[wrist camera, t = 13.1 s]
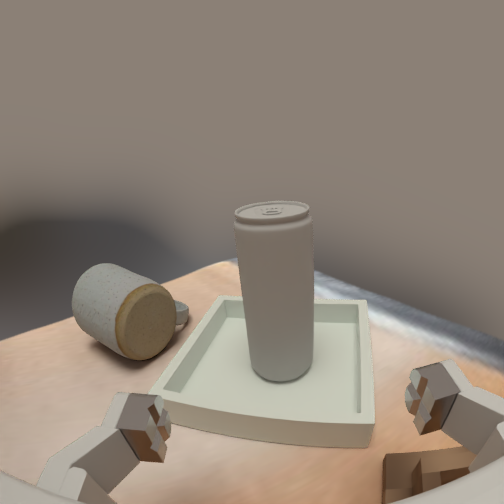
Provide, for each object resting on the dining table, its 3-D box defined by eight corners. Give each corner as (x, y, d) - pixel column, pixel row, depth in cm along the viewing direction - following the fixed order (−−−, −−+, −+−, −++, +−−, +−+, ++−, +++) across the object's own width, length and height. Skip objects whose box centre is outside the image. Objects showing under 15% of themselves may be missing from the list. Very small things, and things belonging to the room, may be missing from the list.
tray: (157, 419, 19) (146, 394, 18) (222, 317, 31) (219, 295, 31) (367, 447, 15) (374, 423, 14) (364, 323, 28) (366, 299, 27)
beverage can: (310, 343, 25) (307, 198, 21) (316, 383, 21) (316, 215, 16) (252, 346, 25) (236, 203, 21) (248, 386, 21) (226, 221, 17)
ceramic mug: (133, 380, 23) (105, 299, 20) (85, 348, 27) (61, 279, 24) (210, 322, 31) (199, 251, 29) (156, 305, 35) (143, 243, 33)
